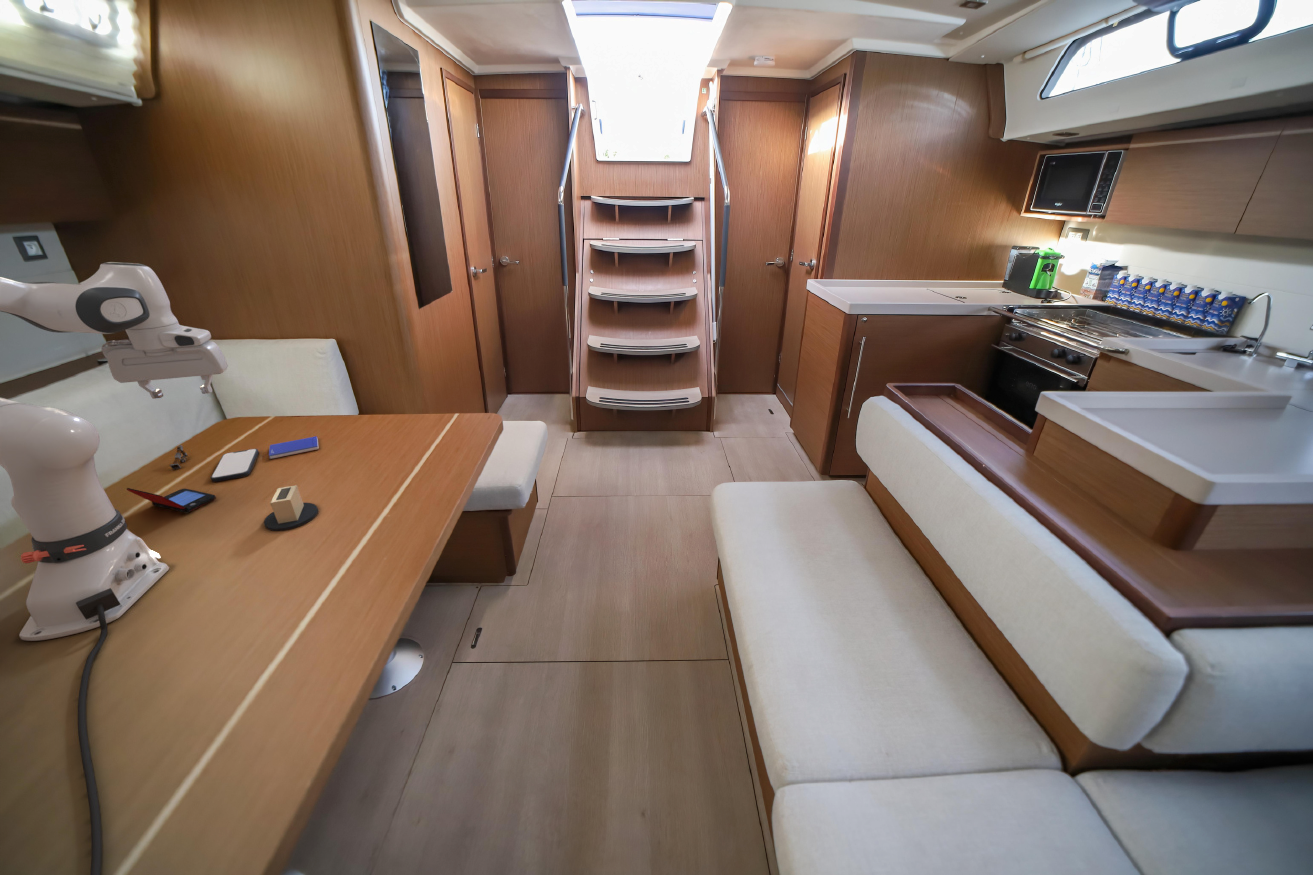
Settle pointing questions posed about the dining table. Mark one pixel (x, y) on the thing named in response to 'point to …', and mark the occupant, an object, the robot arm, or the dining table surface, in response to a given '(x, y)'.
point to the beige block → (287, 504)
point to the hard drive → (293, 447)
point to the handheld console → (178, 499)
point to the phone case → (235, 465)
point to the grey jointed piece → (178, 456)
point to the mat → (305, 516)
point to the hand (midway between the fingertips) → (183, 395)
